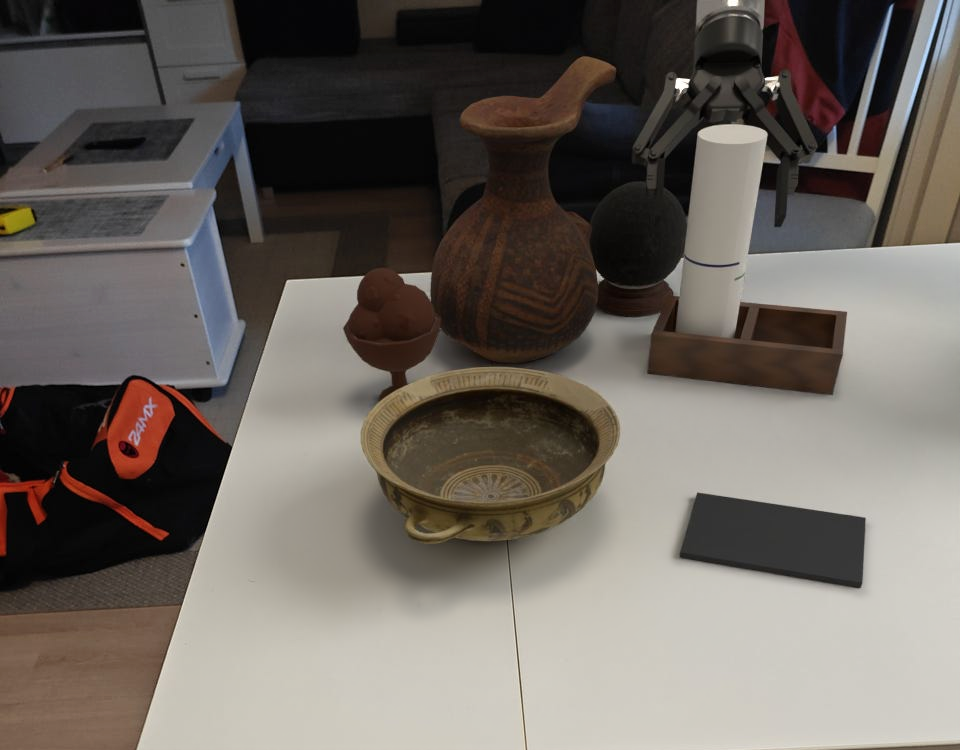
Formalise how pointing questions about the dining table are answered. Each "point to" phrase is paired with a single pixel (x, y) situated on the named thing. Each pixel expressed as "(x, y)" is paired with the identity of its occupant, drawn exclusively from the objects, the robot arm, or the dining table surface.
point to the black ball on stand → (636, 249)
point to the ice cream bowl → (392, 325)
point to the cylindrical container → (719, 228)
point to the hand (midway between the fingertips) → (718, 221)
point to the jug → (520, 232)
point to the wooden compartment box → (755, 348)
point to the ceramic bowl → (489, 451)
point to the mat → (776, 539)
